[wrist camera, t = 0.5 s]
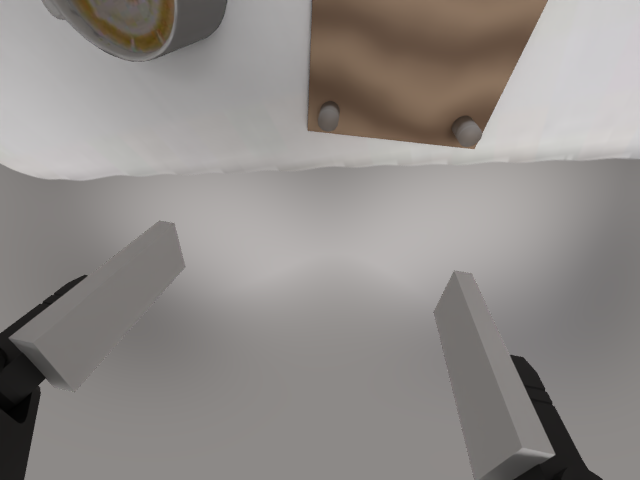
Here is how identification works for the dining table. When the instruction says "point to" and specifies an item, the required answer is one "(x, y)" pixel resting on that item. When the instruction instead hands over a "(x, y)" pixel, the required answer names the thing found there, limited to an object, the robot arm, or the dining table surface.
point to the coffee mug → (140, 24)
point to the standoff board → (414, 66)
